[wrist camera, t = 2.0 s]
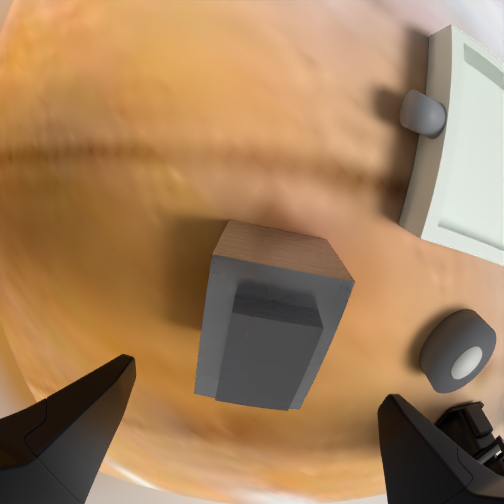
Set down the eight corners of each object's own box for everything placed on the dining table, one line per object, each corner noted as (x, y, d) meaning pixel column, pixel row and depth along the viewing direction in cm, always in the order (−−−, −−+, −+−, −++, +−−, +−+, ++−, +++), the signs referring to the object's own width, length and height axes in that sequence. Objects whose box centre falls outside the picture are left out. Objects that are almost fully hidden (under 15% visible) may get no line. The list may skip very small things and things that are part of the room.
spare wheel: (456, 372, 17) (469, 391, 15) (406, 373, 17) (418, 397, 15) (490, 312, 15) (508, 329, 13) (443, 305, 15) (463, 326, 13)
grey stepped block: (292, 347, 16) (301, 428, 11) (210, 332, 16) (189, 412, 11) (326, 239, 14) (365, 298, 8) (229, 219, 14) (205, 268, 8)
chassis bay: (519, 266, 14) (538, 279, 12) (372, 217, 13) (392, 230, 11) (546, 129, 10) (567, 131, 8) (405, 24, 10) (425, 9, 7)
